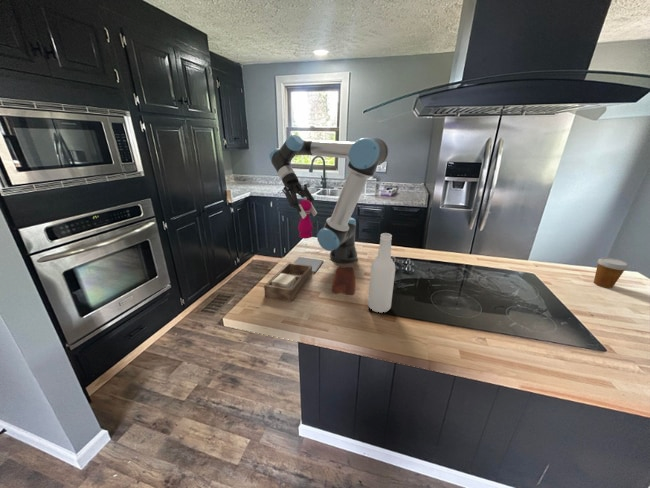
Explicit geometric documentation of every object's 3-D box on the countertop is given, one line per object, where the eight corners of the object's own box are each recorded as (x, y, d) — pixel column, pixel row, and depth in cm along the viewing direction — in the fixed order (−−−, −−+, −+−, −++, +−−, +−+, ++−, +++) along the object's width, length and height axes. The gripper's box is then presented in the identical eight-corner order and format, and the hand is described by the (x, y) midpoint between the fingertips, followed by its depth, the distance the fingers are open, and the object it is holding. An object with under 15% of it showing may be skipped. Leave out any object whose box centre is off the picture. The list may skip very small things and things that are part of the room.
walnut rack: (311, 275, 127) (311, 265, 125) (292, 301, 106) (292, 290, 104) (288, 271, 131) (287, 262, 129) (265, 296, 109) (264, 285, 108)
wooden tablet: (354, 296, 111) (354, 293, 111) (331, 294, 112) (331, 291, 112) (355, 268, 136) (355, 265, 135) (336, 267, 137) (336, 264, 136)
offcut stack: (298, 288, 116) (298, 275, 114) (290, 298, 108) (289, 285, 106) (280, 284, 118) (279, 273, 116) (270, 295, 110) (270, 282, 108)
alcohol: (363, 305, 104) (368, 233, 93) (377, 298, 109) (384, 229, 98) (380, 316, 98) (388, 240, 87) (395, 307, 103) (404, 235, 92)
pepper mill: (303, 240, 127) (302, 198, 120) (295, 235, 132) (294, 196, 125) (315, 237, 131) (315, 197, 124) (307, 233, 136) (307, 194, 129)
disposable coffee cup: (596, 288, 119) (607, 264, 114) (584, 278, 127) (593, 255, 123) (623, 291, 116) (635, 267, 112) (608, 281, 124) (619, 258, 120)
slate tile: (323, 261, 142) (323, 260, 141) (315, 273, 129) (315, 271, 129) (299, 258, 145) (299, 256, 145) (288, 269, 133) (288, 267, 132)
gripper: (300, 180, 139) (321, 216, 134) (269, 183, 127) (290, 223, 122) (306, 170, 133) (328, 208, 128) (274, 173, 121) (297, 215, 116)
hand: (310, 215), depth 125 cm, fingers closed on pepper mill, 6 cm apart
